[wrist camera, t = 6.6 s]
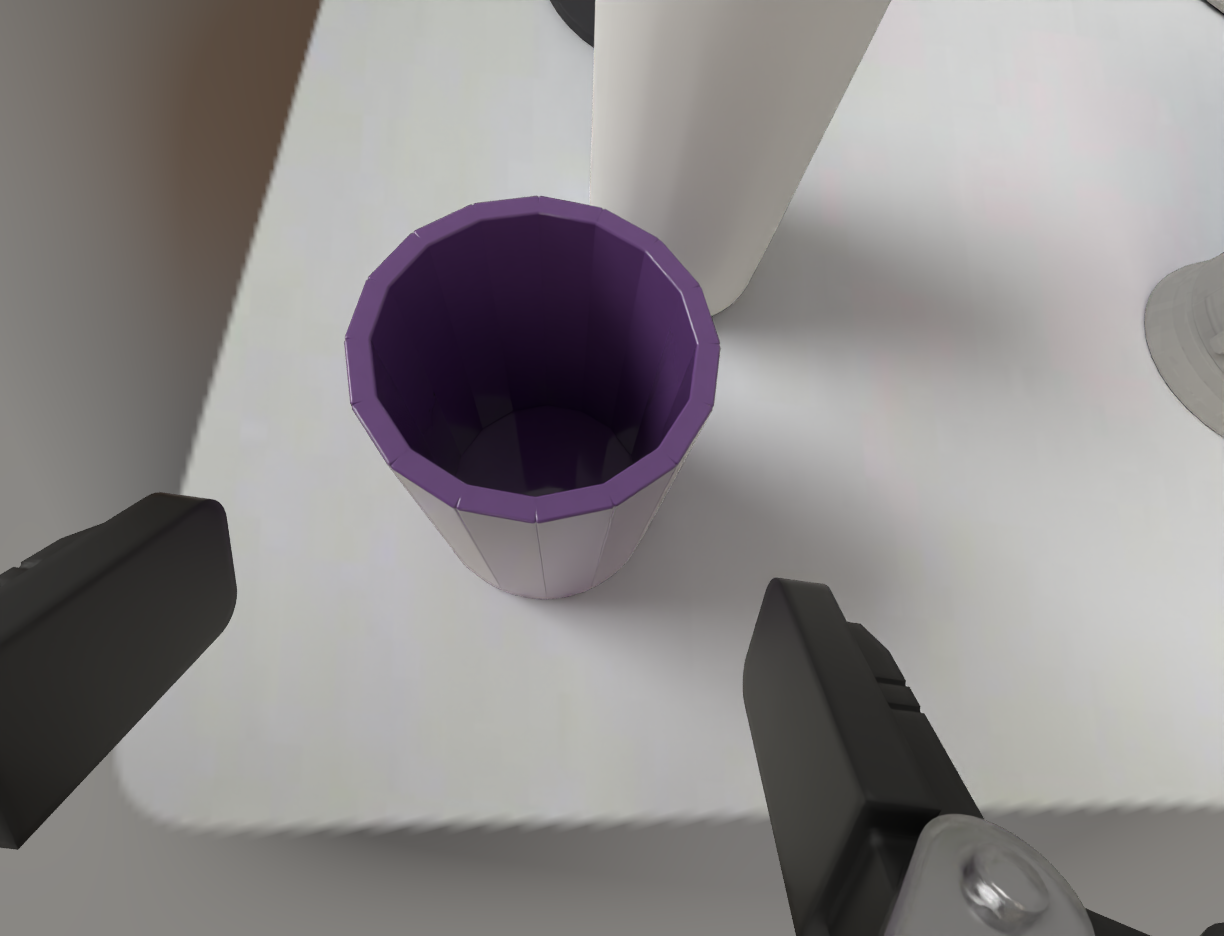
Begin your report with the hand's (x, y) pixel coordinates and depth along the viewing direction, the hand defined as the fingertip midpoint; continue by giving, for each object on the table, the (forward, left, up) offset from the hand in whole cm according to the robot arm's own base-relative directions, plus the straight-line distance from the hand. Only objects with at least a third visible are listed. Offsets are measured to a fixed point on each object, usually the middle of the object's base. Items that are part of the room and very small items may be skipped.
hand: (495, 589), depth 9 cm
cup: (+1, +4, -9) cm, 10 cm away
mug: (+7, +14, -9) cm, 19 cm away
